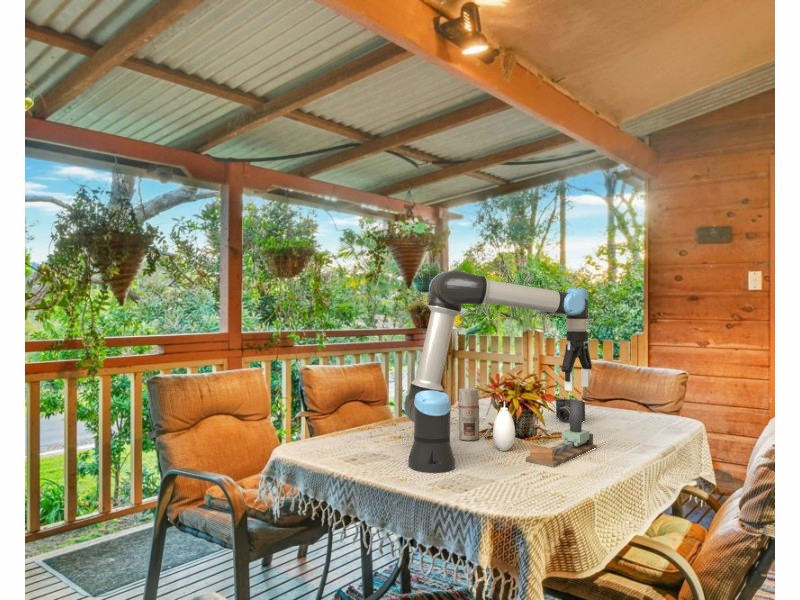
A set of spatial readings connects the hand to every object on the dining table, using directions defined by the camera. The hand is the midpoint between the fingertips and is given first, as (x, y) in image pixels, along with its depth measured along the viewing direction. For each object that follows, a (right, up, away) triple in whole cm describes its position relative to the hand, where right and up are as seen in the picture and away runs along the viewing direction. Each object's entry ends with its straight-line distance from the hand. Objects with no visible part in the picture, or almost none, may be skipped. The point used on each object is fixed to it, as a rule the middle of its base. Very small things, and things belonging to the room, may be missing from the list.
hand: (576, 388), depth 204 cm
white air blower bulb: (-27, -22, -3) cm, 35 cm away
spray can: (-38, -22, +14) cm, 46 cm away
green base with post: (-1, -20, 0) cm, 20 cm away
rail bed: (-7, -22, -8) cm, 25 cm away
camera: (+12, -24, +52) cm, 59 cm away
